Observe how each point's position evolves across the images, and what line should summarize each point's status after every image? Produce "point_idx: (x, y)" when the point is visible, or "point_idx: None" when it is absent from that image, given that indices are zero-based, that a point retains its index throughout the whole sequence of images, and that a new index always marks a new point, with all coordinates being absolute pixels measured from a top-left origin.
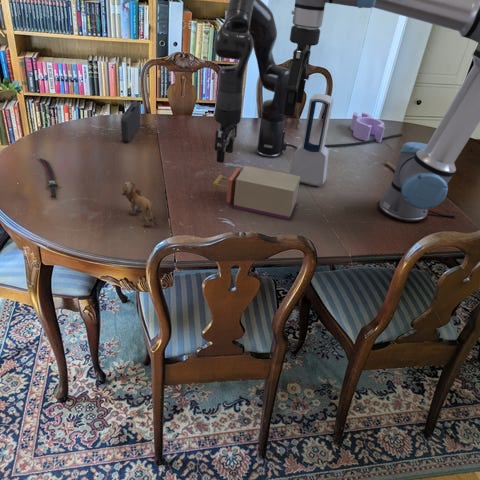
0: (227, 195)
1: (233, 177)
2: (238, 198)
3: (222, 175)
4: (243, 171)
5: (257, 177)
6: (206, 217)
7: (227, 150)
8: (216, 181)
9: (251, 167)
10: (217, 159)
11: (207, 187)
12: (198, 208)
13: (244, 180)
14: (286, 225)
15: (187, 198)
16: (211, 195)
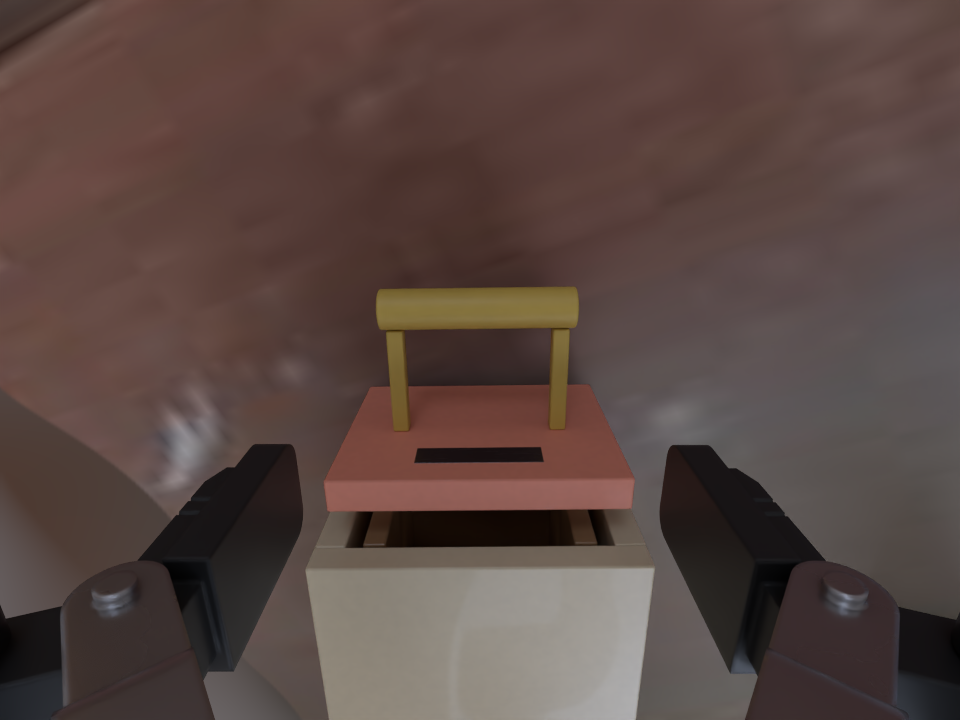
0: (358, 413)
1: (397, 507)
2: None
3: (574, 324)
4: (504, 582)
5: (440, 696)
6: (154, 316)
7: (675, 485)
8: (418, 318)
9: (628, 617)
10: (204, 486)
11: (575, 165)
12: (228, 224)
13: (322, 630)
14: None
15: (320, 82)
16: (459, 242)
